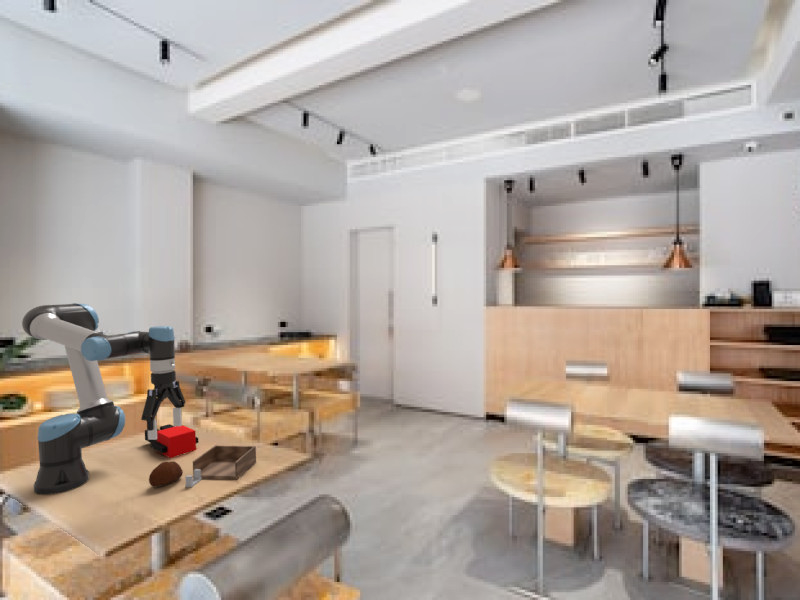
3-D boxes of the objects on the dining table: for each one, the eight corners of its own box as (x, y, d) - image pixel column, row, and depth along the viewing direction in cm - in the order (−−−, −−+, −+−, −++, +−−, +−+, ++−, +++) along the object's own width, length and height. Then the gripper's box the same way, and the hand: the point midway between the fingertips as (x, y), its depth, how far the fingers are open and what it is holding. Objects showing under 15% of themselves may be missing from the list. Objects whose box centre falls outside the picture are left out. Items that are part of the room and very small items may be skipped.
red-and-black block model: (174, 418, 199) (200, 429, 184) (174, 436, 200) (201, 448, 184) (139, 426, 188) (163, 439, 172) (139, 445, 188) (164, 459, 173)
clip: (185, 487, 148) (184, 476, 148) (195, 479, 154) (194, 469, 154) (191, 487, 148) (191, 476, 148) (201, 479, 154) (201, 469, 154)
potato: (189, 478, 155) (188, 456, 155) (160, 493, 144) (159, 469, 144) (174, 475, 158) (173, 453, 158) (144, 489, 147) (143, 466, 147)
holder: (193, 478, 155) (192, 461, 155) (215, 461, 170) (215, 445, 170) (237, 479, 153) (236, 462, 153) (256, 462, 168) (255, 446, 168)
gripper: (148, 379, 137) (151, 445, 138) (194, 364, 162) (196, 421, 163) (126, 379, 138) (129, 445, 139) (175, 364, 163) (177, 420, 163)
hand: (165, 432), depth 151 cm, fingers open, 13 cm apart
